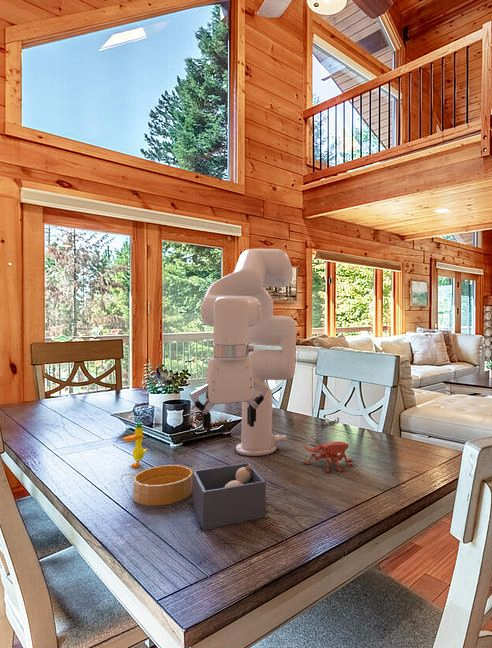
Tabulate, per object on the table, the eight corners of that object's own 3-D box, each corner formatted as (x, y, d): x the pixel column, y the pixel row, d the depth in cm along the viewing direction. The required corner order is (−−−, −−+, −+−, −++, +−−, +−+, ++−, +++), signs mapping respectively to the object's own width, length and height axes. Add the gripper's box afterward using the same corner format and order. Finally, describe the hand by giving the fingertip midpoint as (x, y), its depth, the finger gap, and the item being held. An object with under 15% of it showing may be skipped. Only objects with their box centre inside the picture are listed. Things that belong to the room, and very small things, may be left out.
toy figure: (125, 471, 122) (127, 426, 122) (120, 467, 125) (121, 424, 125) (150, 464, 127) (151, 422, 127) (144, 461, 130) (145, 420, 130)
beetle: (359, 462, 131) (359, 419, 131) (335, 475, 121) (335, 428, 121) (318, 452, 140) (319, 411, 140) (292, 463, 130) (293, 419, 130)
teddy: (234, 510, 102) (253, 473, 108) (241, 508, 98) (261, 470, 104) (215, 499, 101) (235, 462, 107) (221, 496, 97) (242, 459, 103)
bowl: (187, 481, 116) (188, 462, 116) (196, 501, 104) (197, 480, 104) (131, 490, 110) (132, 469, 110) (134, 512, 98) (134, 489, 98)
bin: (248, 493, 108) (249, 462, 109) (265, 517, 97) (265, 481, 97) (191, 504, 103) (192, 470, 103) (202, 530, 91) (203, 492, 91)
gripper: (262, 348, 108) (261, 419, 108) (187, 351, 100) (186, 428, 100) (272, 351, 101) (271, 427, 101) (193, 355, 93) (192, 437, 93)
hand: (229, 427), depth 101 cm, fingers open, 9 cm apart
